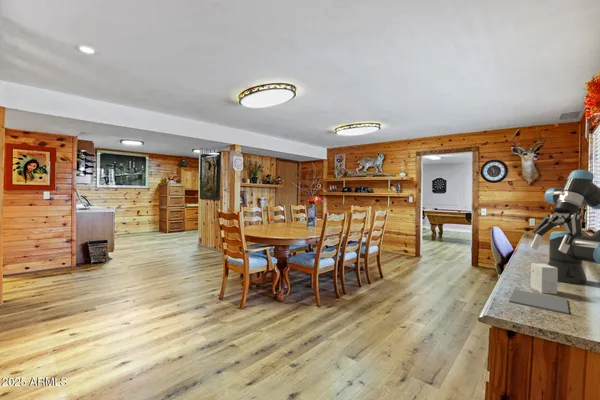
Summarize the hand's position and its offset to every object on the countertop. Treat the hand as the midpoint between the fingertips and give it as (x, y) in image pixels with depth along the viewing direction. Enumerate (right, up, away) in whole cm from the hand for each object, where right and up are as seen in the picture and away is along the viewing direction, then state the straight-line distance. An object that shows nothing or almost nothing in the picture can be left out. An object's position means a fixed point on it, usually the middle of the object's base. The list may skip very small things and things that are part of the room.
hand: (547, 250), depth 120 cm
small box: (-1, -17, +1) cm, 17 cm away
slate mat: (-14, -17, -12) cm, 25 cm away
